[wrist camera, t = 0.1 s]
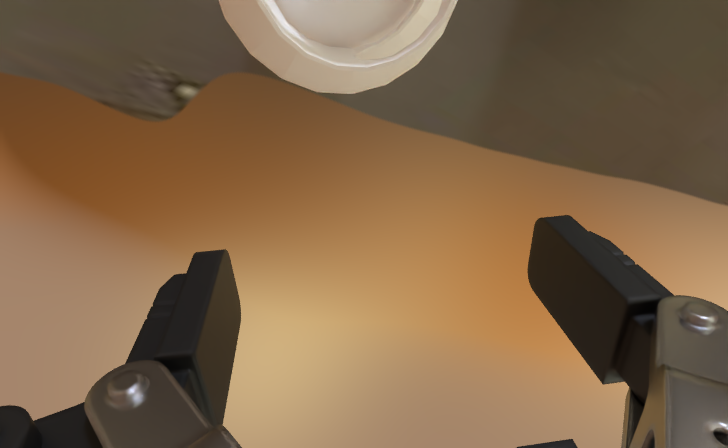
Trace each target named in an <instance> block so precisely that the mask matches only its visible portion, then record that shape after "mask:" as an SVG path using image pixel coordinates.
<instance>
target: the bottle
mask: <svg viewBox="0 0 728 448" xmlns="http://www.w3.org/2000/svg"><path fill="white" fill-rule="evenodd" d="M218 1H219V3H220V6H221V9H222V12H223V14H224V17H225V19H226V21H227V22H228V23H229V25H230V26H231V28H232V29H233V30H234V32H235V33H236V35H237V36H238V37H239V39H240V40H241V42H242V43H243V44H244V46H245V47H246V49H247V50H248V51H249V53H250V54H251V55H252V56H254V57H255V58H256V59H257V60H259V61H260V62H261V63H262V64H264V65H265V66H266V67H268V68H269V69H270V70H271V71H273V72H274V73H275V74H276V75H278V76H279V77H280V78H281V79H284V80H286V81H289V82H292V83H294V84H297V85H299V86H302V87H305V88H307V89H310V90H312V91H315V92H325V93H344V94H354V93H357V92H361V91H365V90H368V89H372V88H376V87H379V86H383V85H387V84H388V83H390V82H391V81H393V80H394V79H396V78H397V77H399V76H400V75H402V74H403V73H405V72H407V71H408V70H410V69H411V68H413V67H414V66H416V65H417V64H418V63H419V62H420V61H421V59H422V58H423V57H424V56H425V55H426V54H427V52H428V51H429V50H430V49H431V48H432V46H433V45H434V44H435V43H436V42H437V40H438V39H439V38H440V37H441V36H442V34H443V32H444V30H445V28H446V26H447V23H448V21H449V19H450V17H451V14H452V12H453V10H454V8H455V5H456V3H457V1H458V0H218Z"/></svg>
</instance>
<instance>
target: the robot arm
mask: <svg viewBox="0 0 728 448" xmlns="http://www.w3.org/2000/svg"><path fill="white" fill-rule="evenodd" d="M528 279H529V283H530V285H531V288H532V289H533V291H534V292H535V294H536V295H537V296H538V298H539V299H540V300H541V302H542V303H543V305H544V306H545V307H546V308H547V310H548V311H549V313H550V314H551V315H552V317H553V318H554V319H555V320H556V322H557V323H558V325H559V326H560V327H561V329H562V330H563V331H564V333H565V334H566V335H567V337H568V338H569V339H570V341H571V342H572V343H573V345H574V346H575V348H576V349H577V350H578V351H579V353H580V354H581V355H582V357H583V358H584V360H585V361H586V362H587V364H588V365H589V366H590V368H591V369H592V370H593V372H594V373H595V374H596V376H597V377H598V378H599V380H600V381H601V382H602V384H610V383H617V382H626V383H627V385H628V386H629V390H628V393H627V396H626V401H625V413H624V423H623V434H622V446H621V448H728V311H727V310H725V309H724V308H722V307H720V306H718V305H716V304H714V303H712V302H709V301H706V300H704V299H700V298H696V297H691V296H681V295H676V296H674V295H673V294H672V293H671V292H670V291H668V290H667V289H666V288H665V287H664V286H663V285H661V284H660V283H659V282H658V281H657V280H655V279H654V278H653V277H652V276H651V275H650V274H648V273H647V272H646V271H645V270H643V268H641V267H640V266H639V265H635V262H634V261H633V260H632V259H631V258H630V257H628V256H627V255H624V254H623V252H622V251H621V250H620V249H619V248H618V247H617V246H615V245H614V244H613V243H612V242H611V241H609V240H607V239H605V238H603V237H601V236H599V235H597V234H595V233H593V232H591V231H589V232H588V231H587V230H586V229H585V228H583V227H582V226H581V225H580V224H579V223H578V222H577V221H576V220H574V219H573V218H572V217H571V216H569V215H564V216H554V217H545V218H539V219H538V220H537V221H536V223H535V226H534V231H533V237H532V244H531V250H530V257H529V262H528ZM240 322H241V308H240V300H239V295H238V291H237V286H236V282H235V278H234V274H233V269H232V265H231V260H230V257H229V253H228V251H227V250H215V251H205V252H196V253H195V254H194V255H193V258H192V261H191V263H190V266H189V268H188V271H187V273H186V274H176V275H174V276H173V277H171V278H170V279H169V280H168V281H167V282H166V283H165V284H164V285H163V286H162V287H161V288H160V289H159V291H158V293H157V295H156V298H155V300H154V302H153V307H151V309H150V311H149V313H148V315H147V319H146V320H145V322H144V324H143V326H142V328H141V330H140V333H139V335H138V337H137V339H136V341H135V344H134V346H133V348H132V350H131V352H130V355H129V357H128V359H127V361H126V363H125V364H124V365H122V366H119V367H117V368H115V369H114V370H112V371H110V372H108V373H107V374H106V375H105V376H103V377H102V378H101V379H100V380H99V381H97V382H96V383H95V385H94V386H93V387H92V388H91V390H90V391H89V393H88V395H87V397H86V399H85V402H83V403H81V404H78V405H76V406H74V407H71V408H68V409H65V410H62V411H60V412H57V413H54V414H52V415H49V416H46V417H43V418H40V419H38V420H35V421H33V420H32V418H31V417H30V415H29V413H28V412H27V411H26V410H25V409H23V408H21V407H19V406H1V407H0V448H242V447H241V446H240V445H239V444H238V442H237V441H236V440H235V439H234V438H233V436H232V435H231V434H230V433H229V431H228V430H227V429H226V428H225V427H224V426H223V425H222V424H223V418H224V413H225V408H226V402H227V396H228V391H229V385H230V379H231V374H232V368H233V362H234V357H235V351H236V345H237V339H238V334H239V328H240ZM517 448H577V446H576V444H575V443H574V441H573V439H569V440H562V441H555V442H549V443H541V444H534V445H527V446H521V447H517Z"/></svg>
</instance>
